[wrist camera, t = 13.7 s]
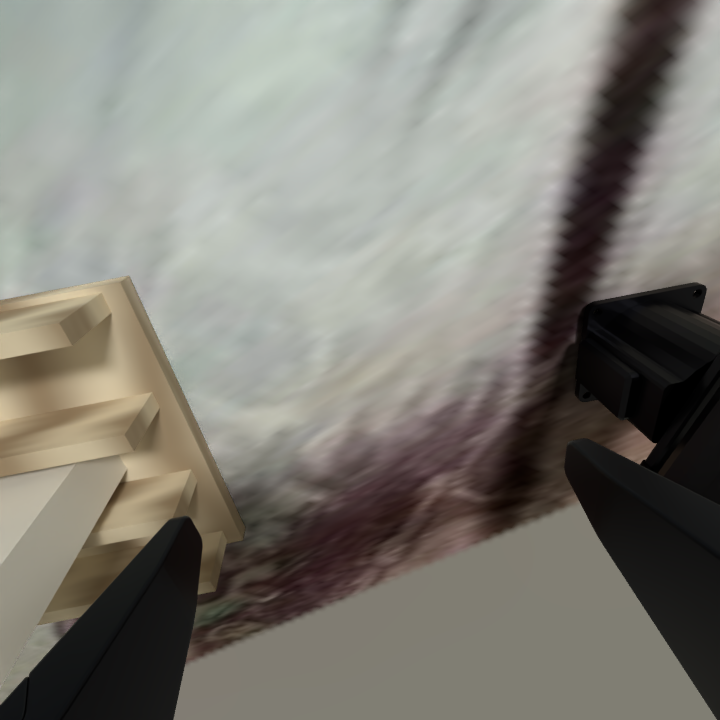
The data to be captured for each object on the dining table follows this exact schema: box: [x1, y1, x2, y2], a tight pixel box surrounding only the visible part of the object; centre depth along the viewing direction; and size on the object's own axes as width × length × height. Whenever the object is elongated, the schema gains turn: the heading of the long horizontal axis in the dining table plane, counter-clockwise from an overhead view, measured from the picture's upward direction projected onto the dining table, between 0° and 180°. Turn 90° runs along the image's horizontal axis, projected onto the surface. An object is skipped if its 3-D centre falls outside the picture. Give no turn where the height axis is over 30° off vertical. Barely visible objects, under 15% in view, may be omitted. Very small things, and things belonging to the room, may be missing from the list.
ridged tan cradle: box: [0, 276, 245, 625], centre depth 22 cm, size 14×18×4 cm
